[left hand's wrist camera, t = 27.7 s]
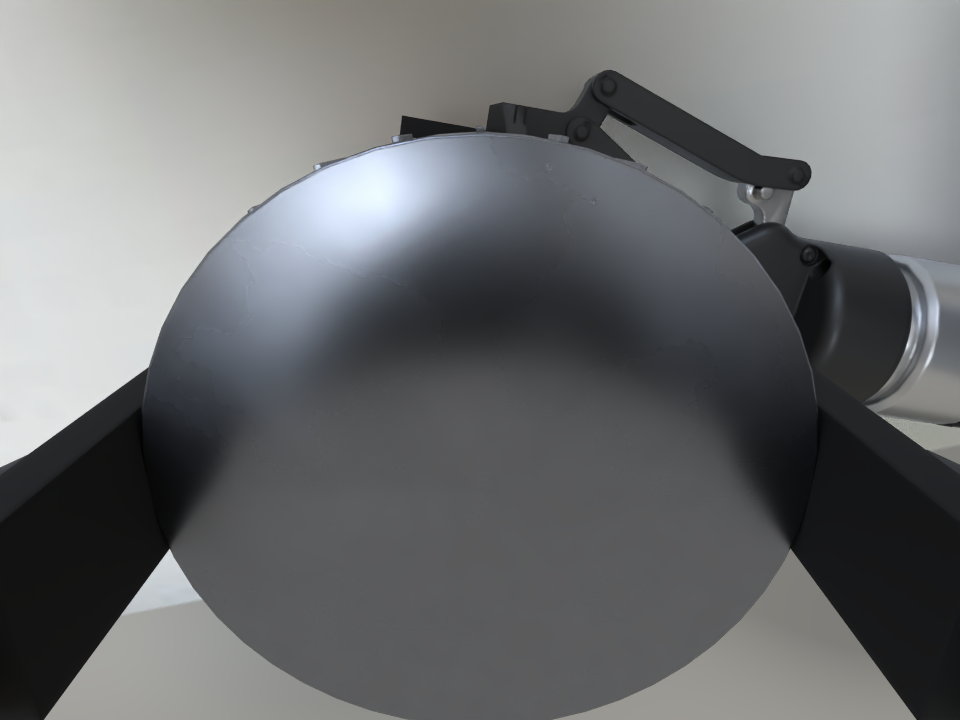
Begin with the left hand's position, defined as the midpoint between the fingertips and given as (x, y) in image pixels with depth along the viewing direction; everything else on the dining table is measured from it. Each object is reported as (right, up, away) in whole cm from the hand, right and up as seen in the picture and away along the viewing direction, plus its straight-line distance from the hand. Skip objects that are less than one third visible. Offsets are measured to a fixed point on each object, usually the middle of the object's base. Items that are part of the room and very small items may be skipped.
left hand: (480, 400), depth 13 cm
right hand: (-4, +6, +14) cm, 16 cm away
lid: (0, -1, -3) cm, 3 cm away
